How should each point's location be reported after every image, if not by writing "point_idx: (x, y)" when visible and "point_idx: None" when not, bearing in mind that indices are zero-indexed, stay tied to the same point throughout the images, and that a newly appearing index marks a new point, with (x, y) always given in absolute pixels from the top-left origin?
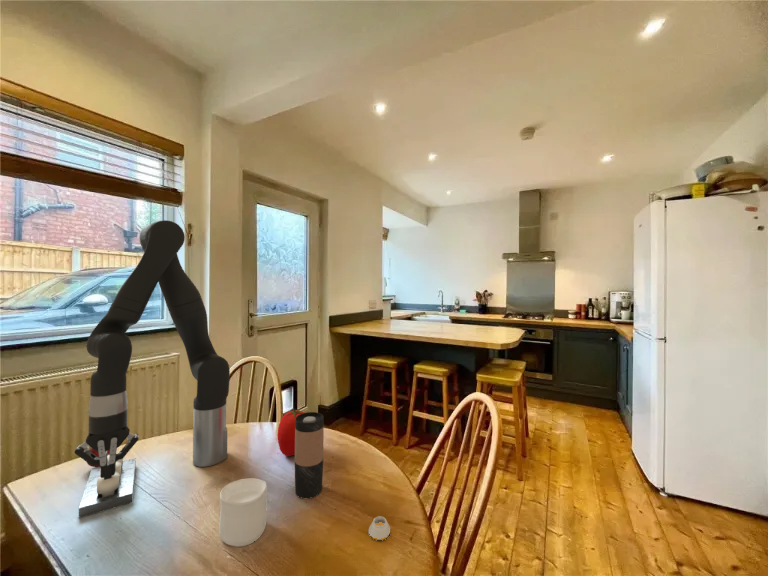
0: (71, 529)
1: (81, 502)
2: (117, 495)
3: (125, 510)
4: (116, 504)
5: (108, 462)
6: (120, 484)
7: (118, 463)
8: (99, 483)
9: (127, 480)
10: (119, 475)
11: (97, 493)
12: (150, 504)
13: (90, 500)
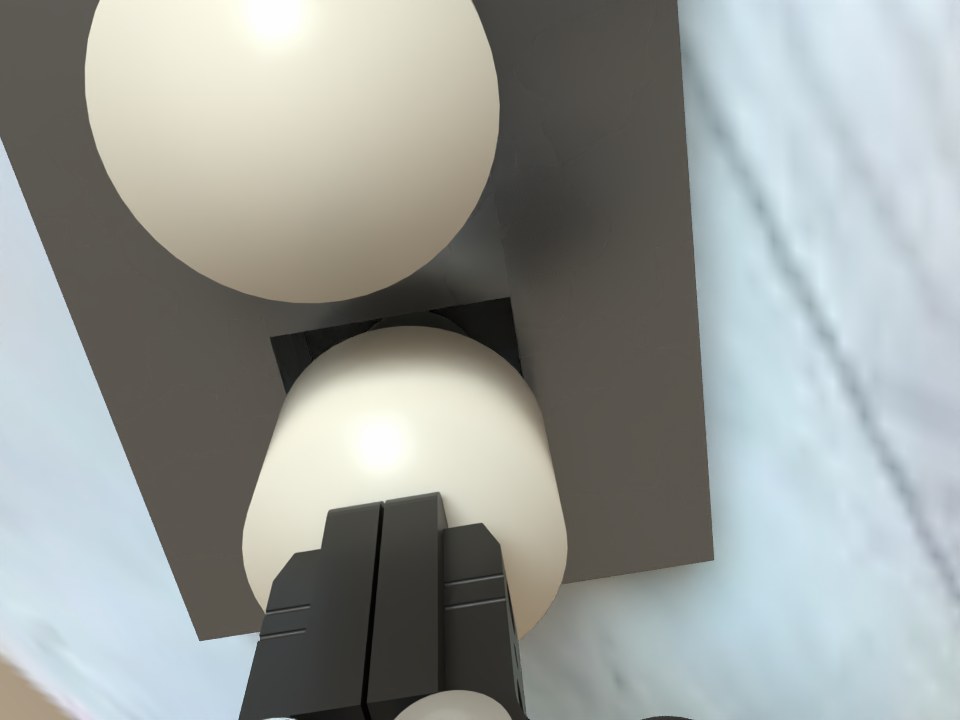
0: (241, 688)
1: (170, 545)
2: None
3: (638, 590)
4: None
5: (367, 703)
6: (527, 289)
7: (420, 6)
8: None
9: (604, 201)
10: (564, 522)
11: (280, 407)
12: (858, 580)
13: None
